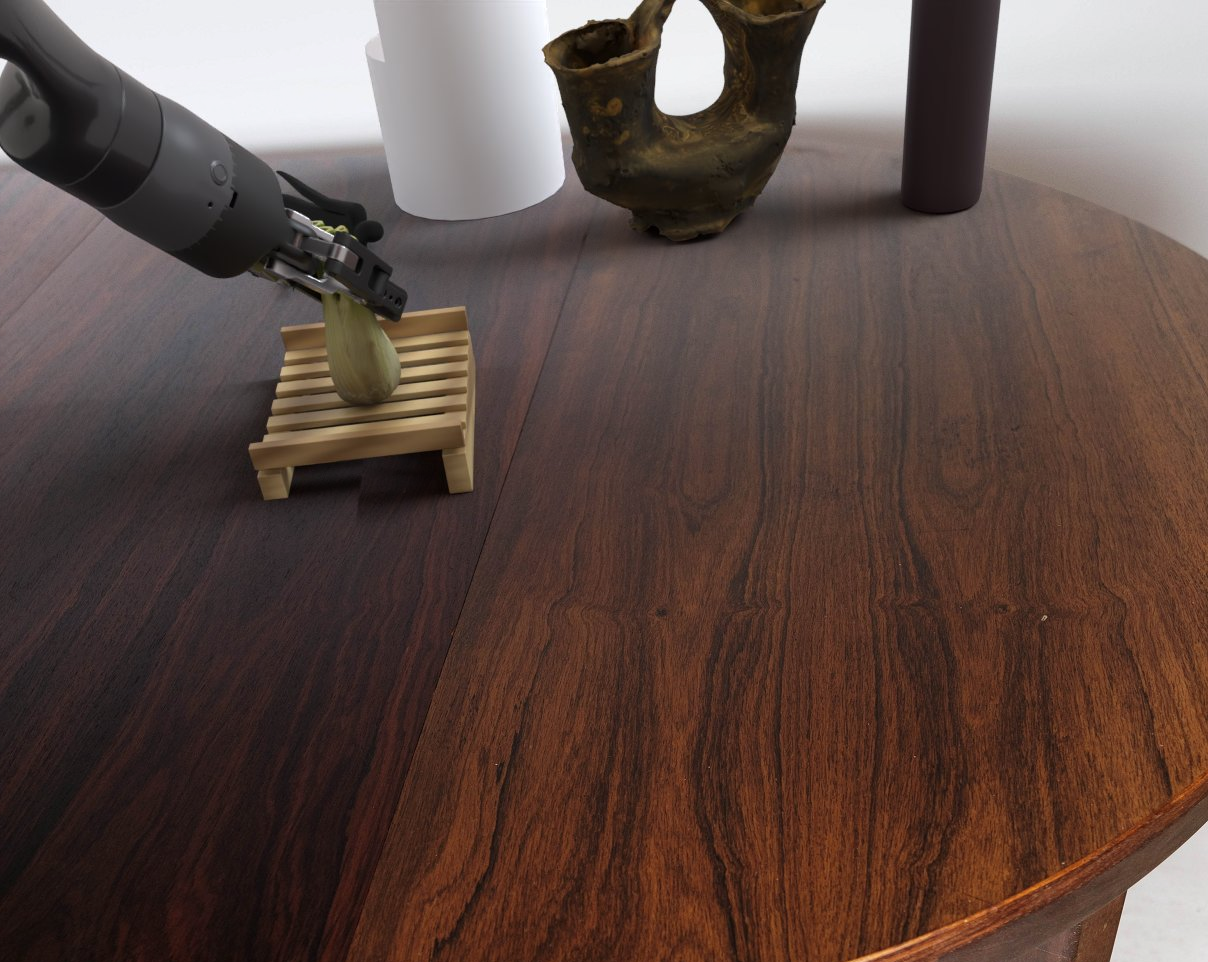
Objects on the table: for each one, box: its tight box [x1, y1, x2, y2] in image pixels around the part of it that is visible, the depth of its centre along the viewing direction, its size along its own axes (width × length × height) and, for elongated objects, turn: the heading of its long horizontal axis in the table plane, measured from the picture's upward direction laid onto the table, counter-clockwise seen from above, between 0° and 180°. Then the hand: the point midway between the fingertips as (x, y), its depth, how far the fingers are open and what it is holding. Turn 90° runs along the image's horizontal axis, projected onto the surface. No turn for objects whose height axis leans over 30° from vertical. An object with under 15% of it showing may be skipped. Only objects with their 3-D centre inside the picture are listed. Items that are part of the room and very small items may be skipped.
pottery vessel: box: [542, 0, 827, 242], centre depth 112 cm, size 25×11×20 cm, turn 112°
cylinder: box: [364, 0, 566, 222], centre depth 121 cm, size 17×17×28 cm
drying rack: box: [248, 305, 477, 501], centre depth 93 cm, size 14×18×5 cm
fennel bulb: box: [311, 221, 402, 406], centre depth 88 cm, size 6×5×12 cm
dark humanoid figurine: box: [275, 170, 385, 292], centre depth 120 cm, size 8×9×25 cm
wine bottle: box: [900, 0, 1002, 214], centre depth 107 cm, size 7×7×30 cm
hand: (366, 299), depth 89 cm, fingers closed on fennel bulb, 5 cm apart
